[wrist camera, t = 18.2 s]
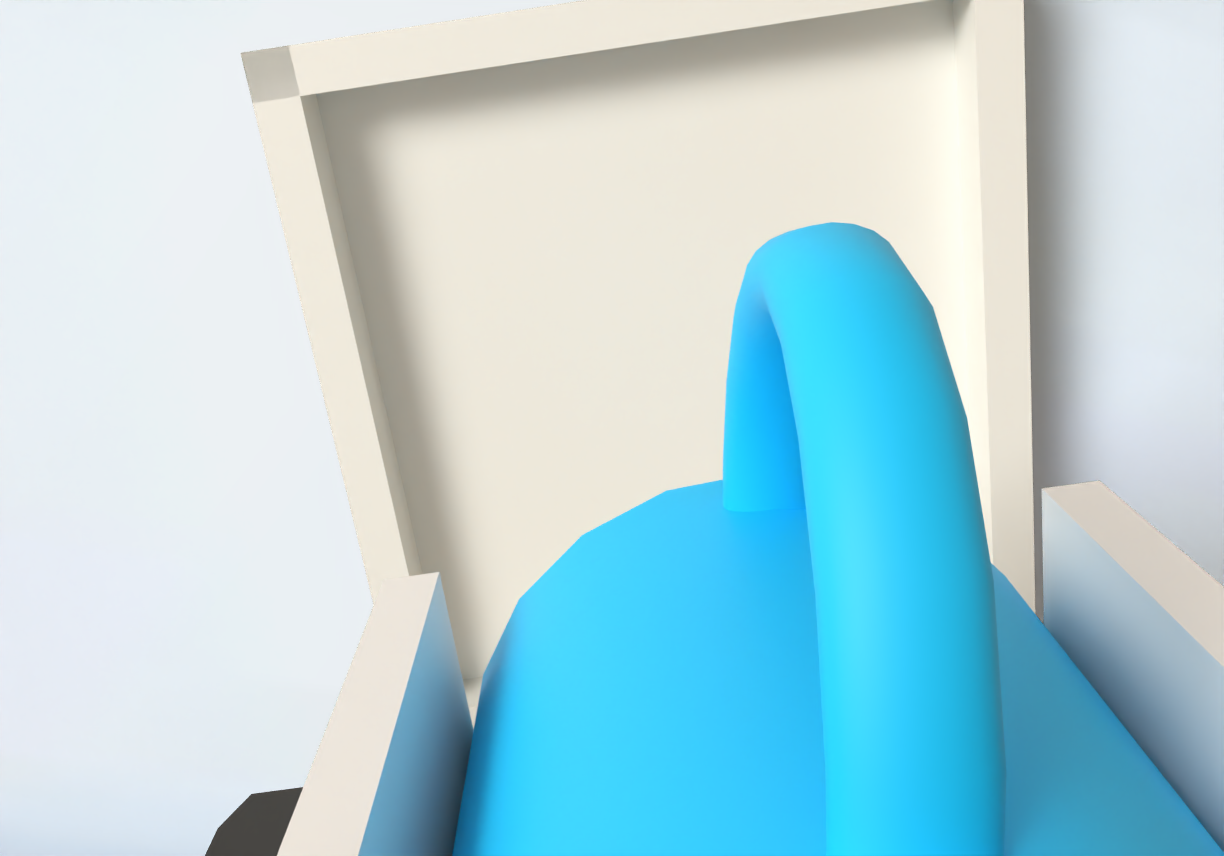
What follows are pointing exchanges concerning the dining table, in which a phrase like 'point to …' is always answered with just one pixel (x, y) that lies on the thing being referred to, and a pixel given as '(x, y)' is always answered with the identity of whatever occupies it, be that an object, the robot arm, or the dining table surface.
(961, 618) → the mug
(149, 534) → the dining table surface
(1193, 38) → the dining table surface
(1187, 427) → the dining table surface
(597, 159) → the organiser tray
